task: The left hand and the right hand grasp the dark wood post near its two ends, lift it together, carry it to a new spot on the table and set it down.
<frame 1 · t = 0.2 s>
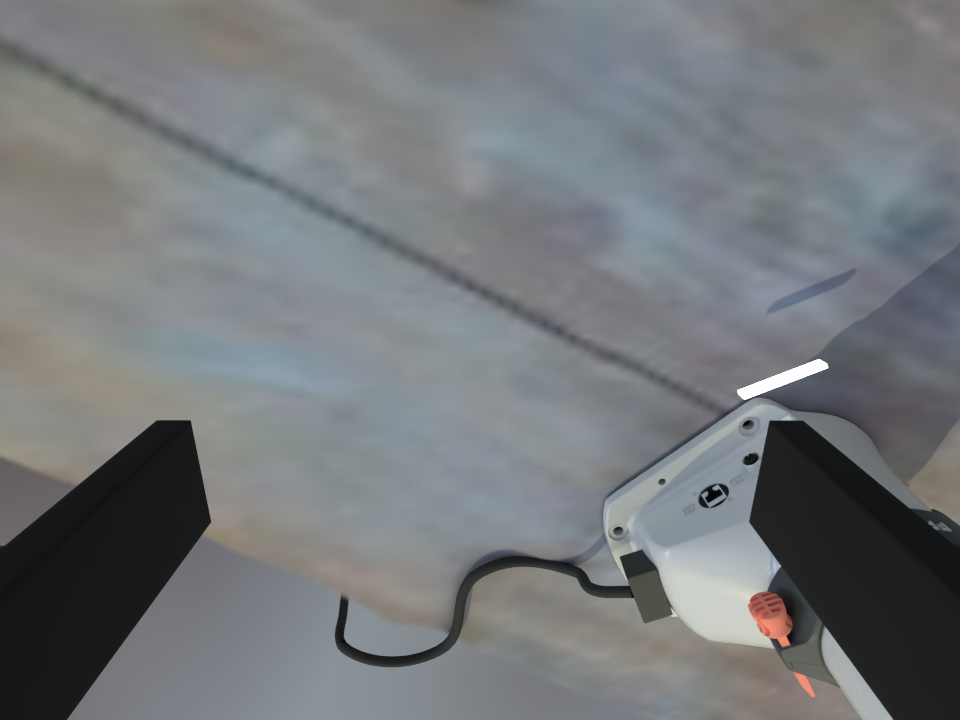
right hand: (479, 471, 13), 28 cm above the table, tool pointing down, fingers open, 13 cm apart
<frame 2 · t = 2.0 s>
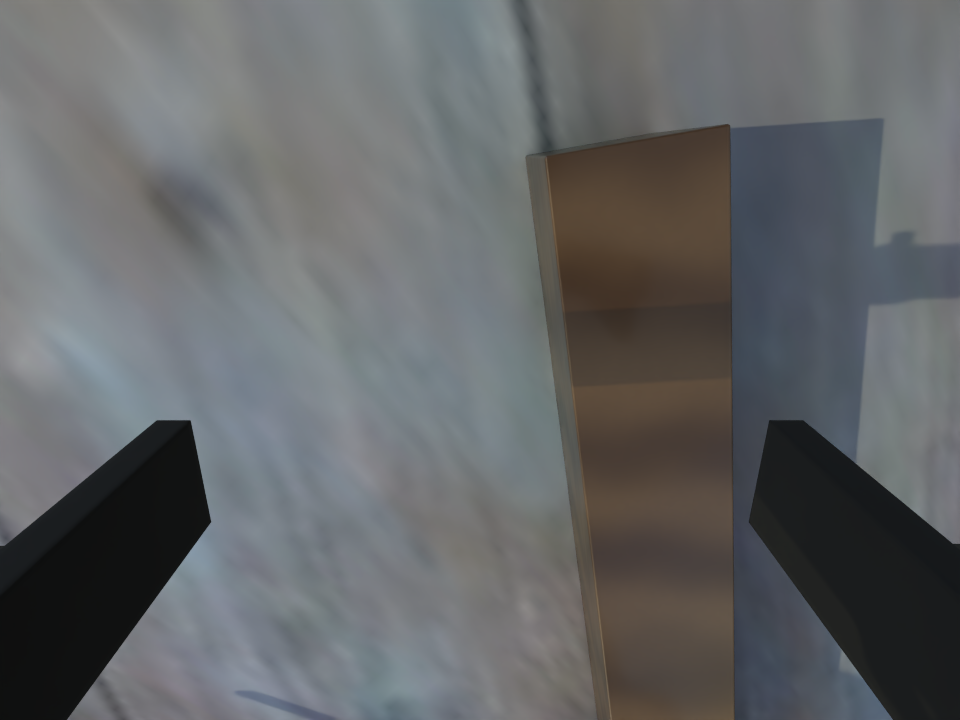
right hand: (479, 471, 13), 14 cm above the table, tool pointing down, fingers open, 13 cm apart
post: (639, 701, 35), on the table
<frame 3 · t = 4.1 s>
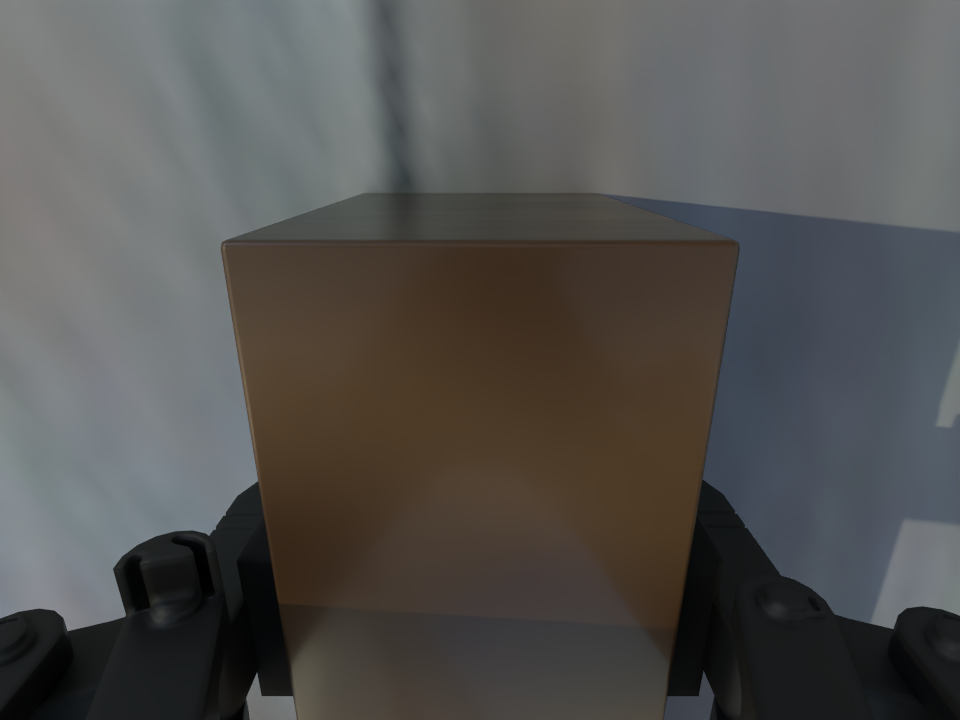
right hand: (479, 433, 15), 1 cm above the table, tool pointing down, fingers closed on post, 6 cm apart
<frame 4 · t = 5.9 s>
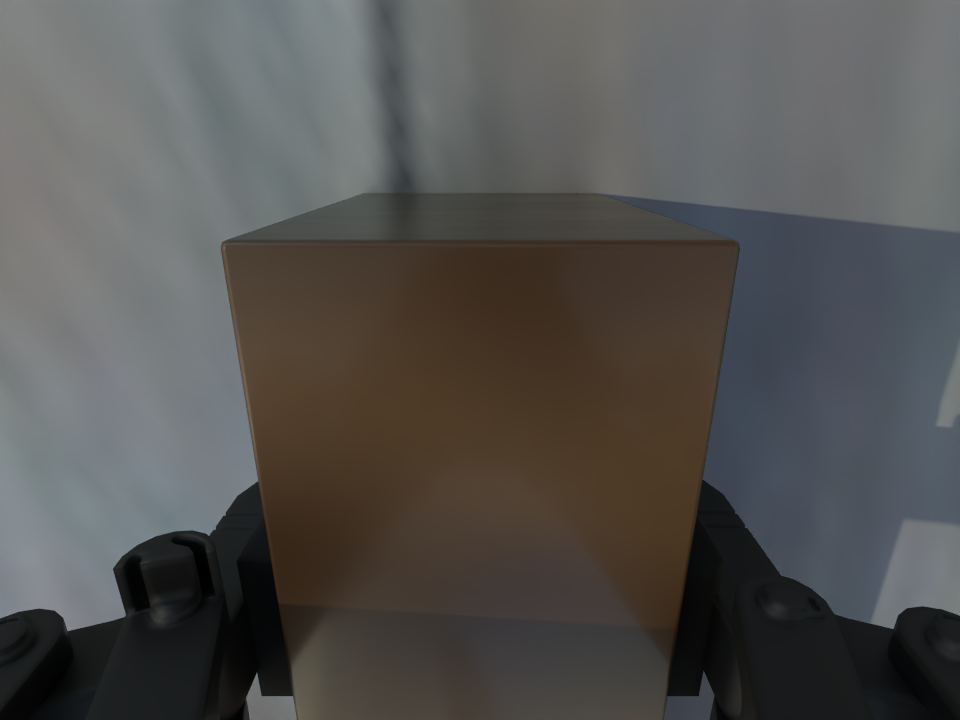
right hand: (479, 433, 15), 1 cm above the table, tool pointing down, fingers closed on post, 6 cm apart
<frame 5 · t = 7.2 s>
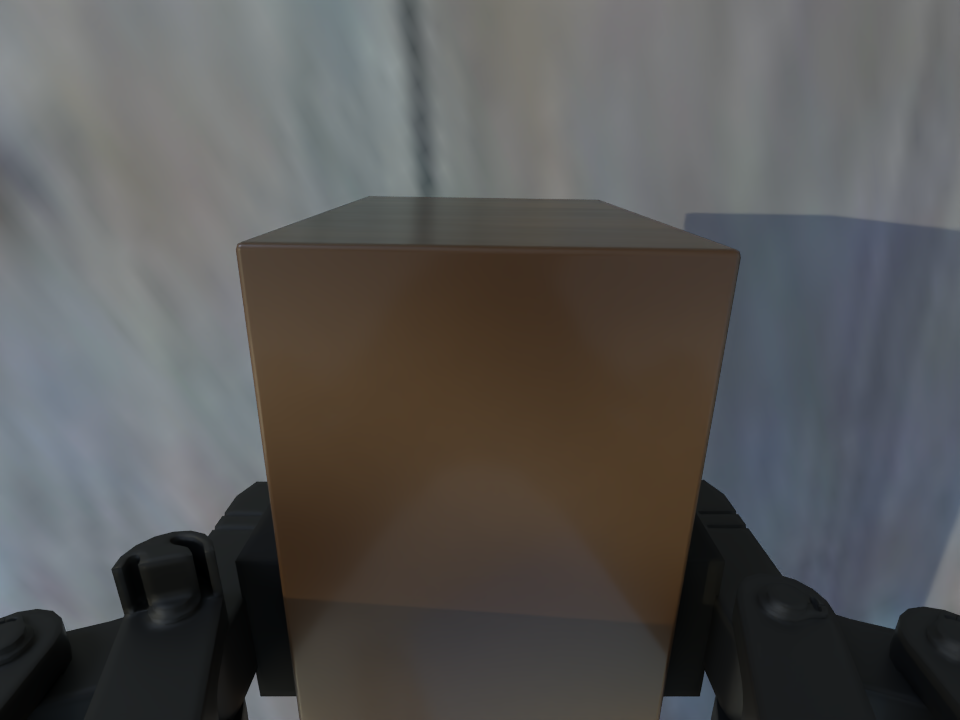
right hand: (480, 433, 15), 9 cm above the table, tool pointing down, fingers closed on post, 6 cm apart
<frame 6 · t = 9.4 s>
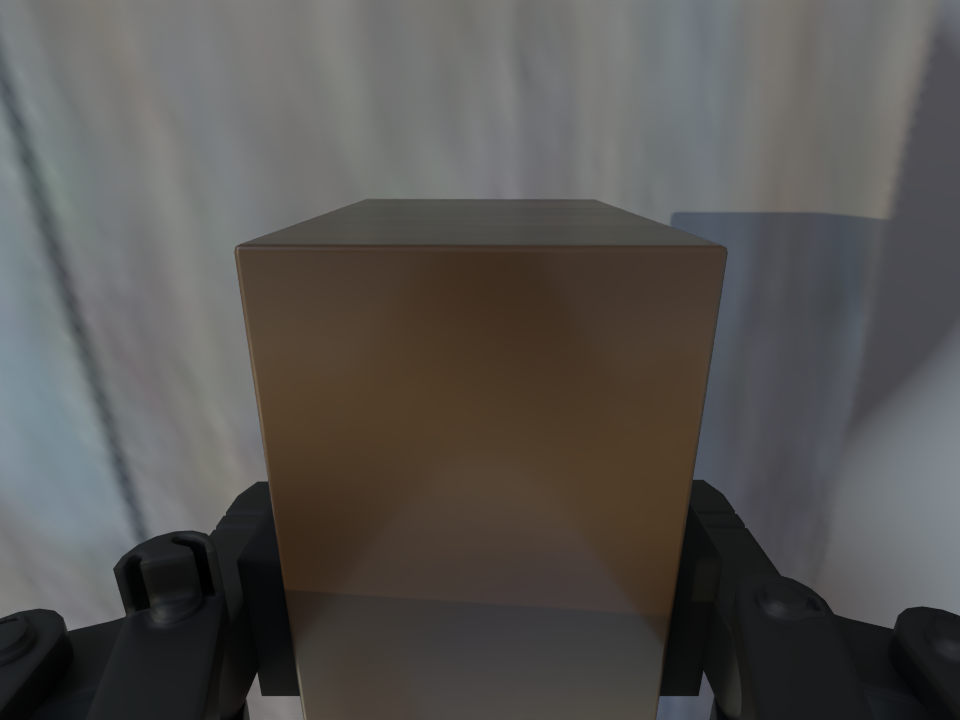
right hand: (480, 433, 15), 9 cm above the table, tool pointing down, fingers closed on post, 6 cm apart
when the right hand's fingers open (2 cm above the table, at t = 10.6 s): post drops 1 cm, on the table.
when the left hand's fingers open (4 cm above the table, at t = 10.8 s): post stays where it is, on the table.
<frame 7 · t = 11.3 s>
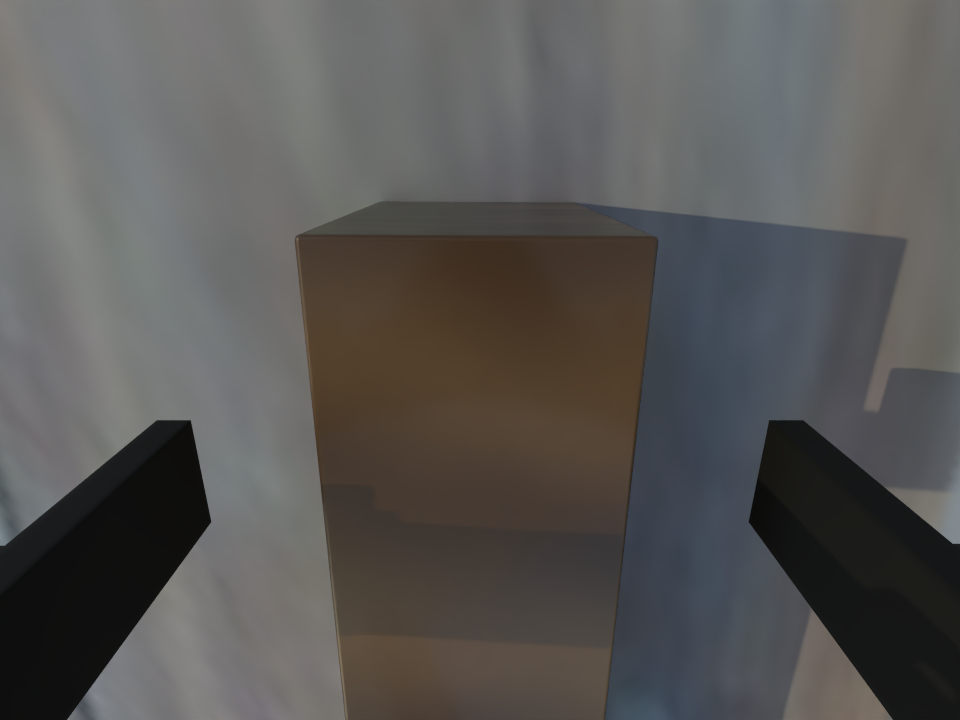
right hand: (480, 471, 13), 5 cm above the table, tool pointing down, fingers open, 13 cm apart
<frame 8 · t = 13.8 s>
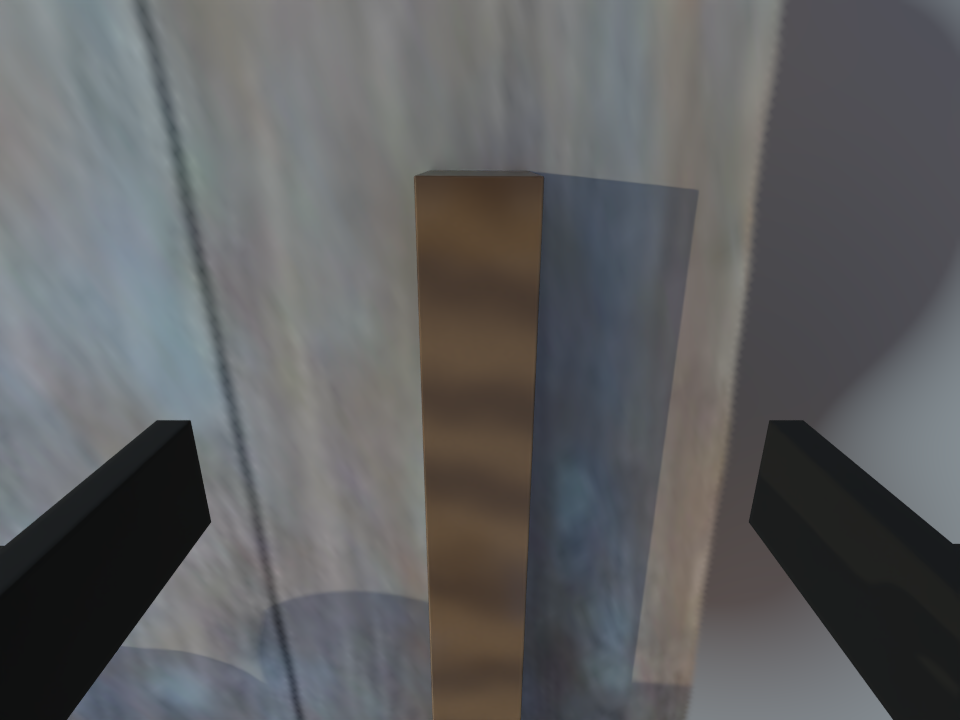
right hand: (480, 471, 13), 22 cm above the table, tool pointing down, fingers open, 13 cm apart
post: (477, 630, 43), on the table
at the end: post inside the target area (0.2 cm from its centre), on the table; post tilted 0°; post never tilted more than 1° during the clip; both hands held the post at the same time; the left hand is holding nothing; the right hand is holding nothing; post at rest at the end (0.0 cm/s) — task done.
